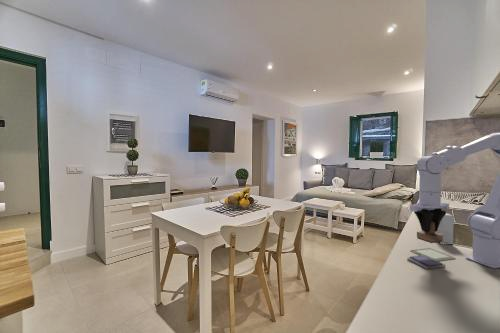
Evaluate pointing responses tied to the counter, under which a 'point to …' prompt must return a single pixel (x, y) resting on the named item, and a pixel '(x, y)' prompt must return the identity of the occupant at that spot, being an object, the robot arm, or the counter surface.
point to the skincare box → (446, 229)
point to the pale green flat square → (433, 254)
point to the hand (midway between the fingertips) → (429, 231)
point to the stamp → (430, 235)
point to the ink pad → (425, 262)
